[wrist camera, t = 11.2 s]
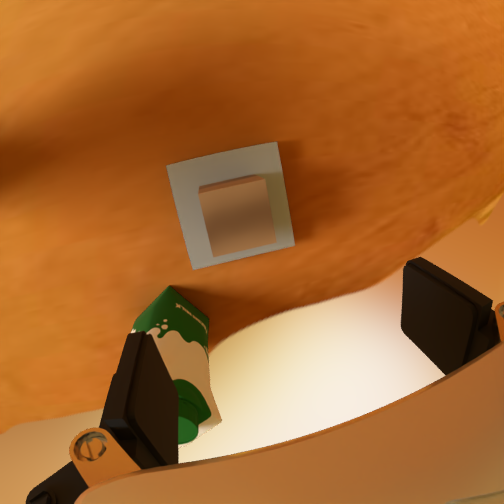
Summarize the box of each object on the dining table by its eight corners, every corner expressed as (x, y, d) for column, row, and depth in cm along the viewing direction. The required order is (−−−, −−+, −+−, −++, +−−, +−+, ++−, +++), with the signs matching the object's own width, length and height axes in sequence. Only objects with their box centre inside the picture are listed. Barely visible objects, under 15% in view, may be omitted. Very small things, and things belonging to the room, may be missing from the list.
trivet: (168, 164, 33) (166, 165, 31) (271, 142, 34) (276, 141, 32) (193, 262, 37) (193, 269, 35) (289, 239, 38) (295, 245, 36)
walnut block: (199, 186, 32) (197, 193, 26) (254, 174, 32) (265, 179, 27) (211, 239, 34) (213, 257, 28) (264, 227, 34) (276, 242, 29)
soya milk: (219, 317, 40) (235, 439, 21) (175, 357, 41) (168, 476, 22) (168, 275, 37) (143, 388, 18) (125, 319, 38) (86, 435, 19)
